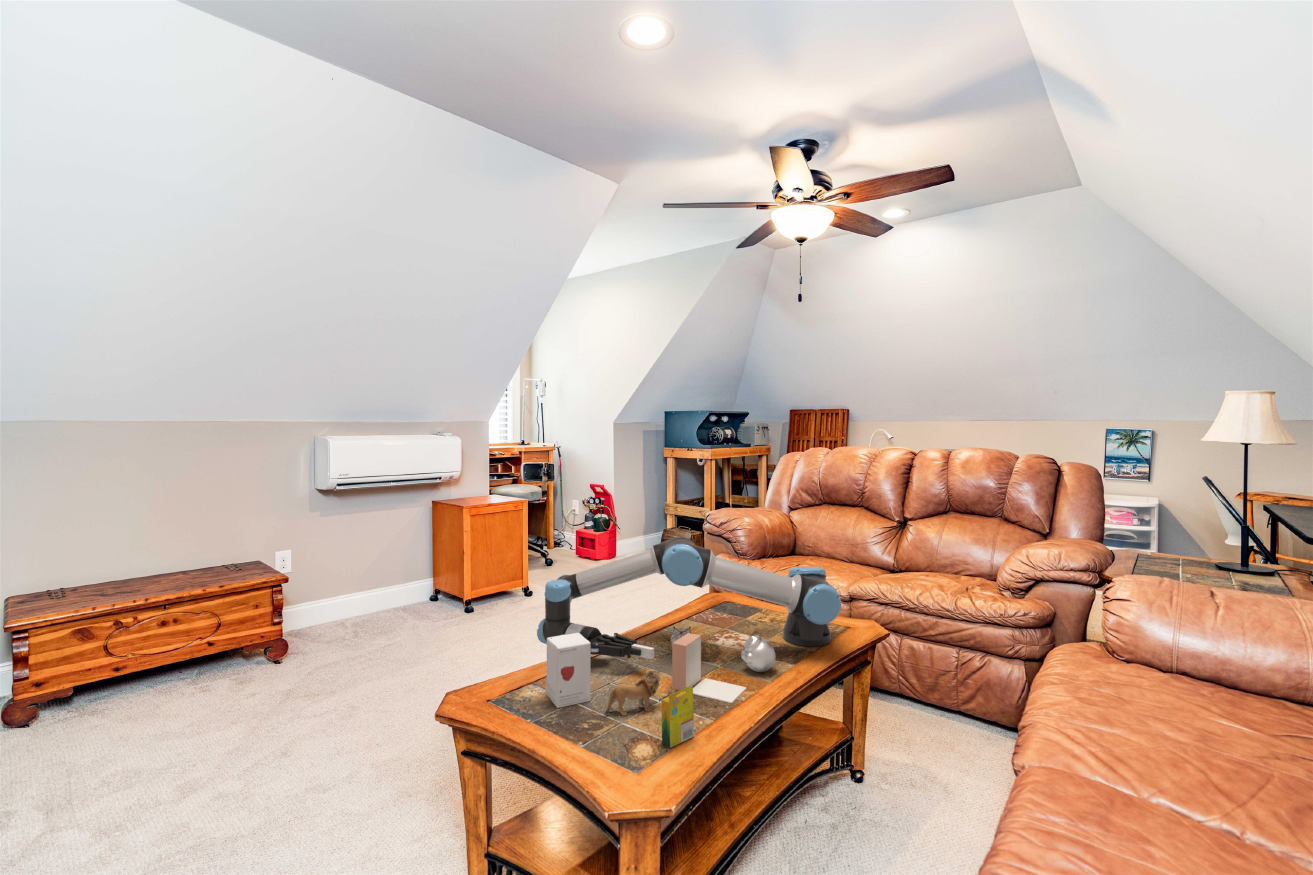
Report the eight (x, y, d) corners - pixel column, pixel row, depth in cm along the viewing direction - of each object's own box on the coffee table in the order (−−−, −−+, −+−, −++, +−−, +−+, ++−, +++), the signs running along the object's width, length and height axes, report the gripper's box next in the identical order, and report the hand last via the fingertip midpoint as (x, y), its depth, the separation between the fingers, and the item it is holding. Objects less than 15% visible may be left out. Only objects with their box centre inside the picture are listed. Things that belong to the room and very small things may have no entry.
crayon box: (685, 732, 140) (685, 680, 139) (694, 737, 137) (694, 685, 137) (660, 743, 135) (660, 690, 135) (669, 748, 133) (669, 694, 132)
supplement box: (556, 709, 151) (556, 648, 151) (545, 694, 159) (545, 636, 159) (591, 701, 155) (591, 642, 155) (579, 687, 163) (578, 631, 163)
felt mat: (746, 688, 162) (746, 687, 162) (731, 703, 154) (731, 702, 154) (705, 679, 168) (705, 677, 168) (688, 692, 160) (688, 691, 160)
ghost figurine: (744, 662, 180) (744, 628, 180) (777, 666, 177) (777, 632, 177) (738, 674, 172) (738, 638, 171) (772, 679, 168) (772, 642, 168)
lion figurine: (654, 699, 156) (654, 664, 156) (664, 708, 151) (664, 672, 151) (600, 712, 149) (600, 675, 149) (608, 721, 144) (608, 683, 144)
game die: (685, 664, 189) (703, 635, 191) (684, 664, 181) (702, 634, 183) (661, 646, 191) (679, 618, 193) (659, 646, 183) (677, 616, 185)
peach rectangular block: (701, 679, 169) (701, 635, 168) (685, 691, 161) (685, 645, 160) (687, 676, 171) (687, 632, 170) (672, 688, 163) (672, 643, 162)
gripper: (596, 644, 188) (664, 659, 176) (570, 658, 177) (640, 675, 165) (596, 620, 188) (664, 633, 176) (569, 632, 177) (640, 647, 165)
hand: (652, 653), depth 171 cm, fingers closed
